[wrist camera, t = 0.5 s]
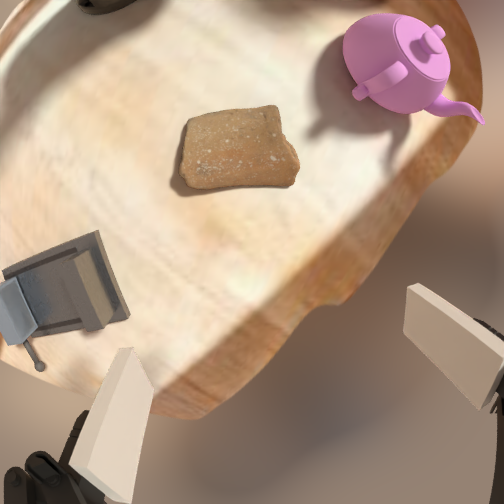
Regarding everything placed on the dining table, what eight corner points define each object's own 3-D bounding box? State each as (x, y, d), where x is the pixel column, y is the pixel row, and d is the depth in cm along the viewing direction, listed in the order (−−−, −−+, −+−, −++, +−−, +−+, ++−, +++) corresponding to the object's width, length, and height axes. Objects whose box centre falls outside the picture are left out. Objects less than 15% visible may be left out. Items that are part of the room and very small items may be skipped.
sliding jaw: (2, 282, 33) (-17, 294, 27) (15, 276, 33) (-4, 289, 28) (42, 362, 38) (29, 379, 33) (57, 360, 38) (44, 379, 33)
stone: (294, 185, 37) (301, 186, 34) (181, 190, 36) (178, 191, 32) (292, 109, 34) (298, 104, 31) (179, 112, 33) (175, 106, 29)
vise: (6, 267, 34) (-18, 281, 27) (98, 229, 35) (74, 242, 28) (35, 333, 38) (16, 353, 31) (130, 314, 39) (115, 339, 32)
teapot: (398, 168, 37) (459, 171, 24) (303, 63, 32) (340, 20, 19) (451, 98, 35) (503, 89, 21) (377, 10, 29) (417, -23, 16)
